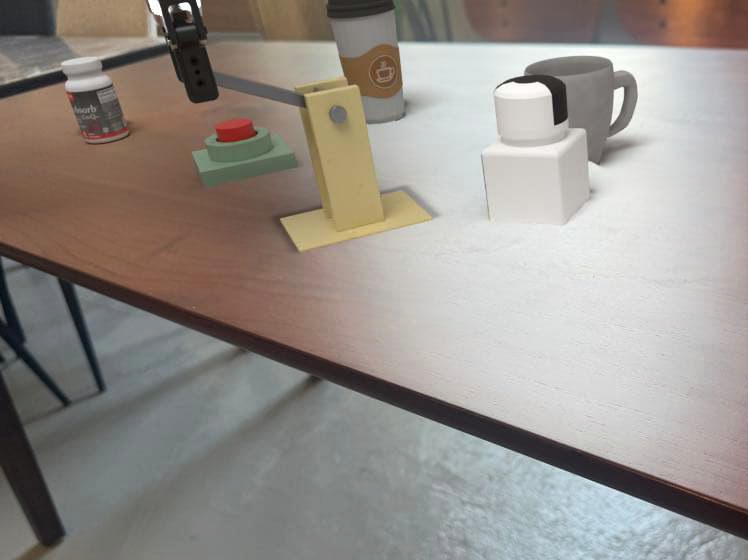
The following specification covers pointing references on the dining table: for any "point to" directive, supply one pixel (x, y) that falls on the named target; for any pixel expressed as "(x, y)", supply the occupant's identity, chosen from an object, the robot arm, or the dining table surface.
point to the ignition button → (235, 130)
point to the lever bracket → (344, 173)
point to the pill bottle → (94, 101)
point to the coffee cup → (370, 55)
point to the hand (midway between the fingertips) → (198, 90)
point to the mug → (591, 96)
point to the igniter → (242, 158)
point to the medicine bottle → (535, 155)
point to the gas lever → (260, 89)
